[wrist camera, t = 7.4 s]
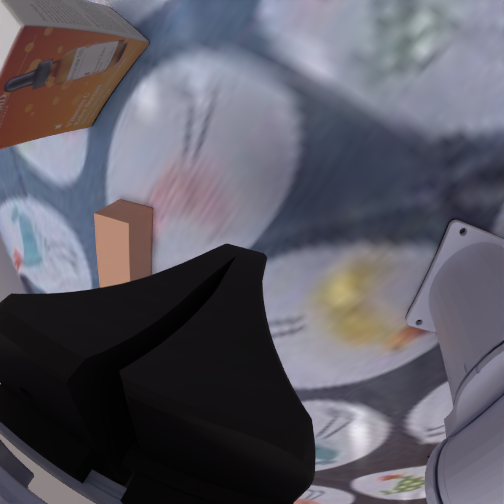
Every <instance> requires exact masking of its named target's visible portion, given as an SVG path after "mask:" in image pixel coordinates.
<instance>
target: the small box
mask: <svg viewBox="0 0 504 504" xmlns="http://www.w3.org/2000/svg"><path fill="white" fill-rule="evenodd" d="M148 45H149V41H148V40H147V39H146V38H145V37H144V36H143V35H141V34H140V33H139V32H138V31H137V30H136V29H135V28H134V27H133V26H131V25H130V24H129V23H128V22H127V21H126V20H124V19H123V18H122V17H121V16H120V15H118V14H117V13H116V12H115V11H114V10H112V9H111V8H110V7H108V6H105V5H101V4H97V3H93V2H89V1H84V0H0V149H3V148H6V147H10V146H13V145H17V144H20V143H24V142H27V141H31V140H35V139H39V138H43V137H47V136H51V135H56V134H60V133H64V132H69V131H74V130H79V129H84V128H88V127H91V125H92V124H93V122H94V120H95V119H96V117H97V115H98V113H99V112H100V110H101V108H102V107H103V105H104V104H105V102H106V101H107V99H108V98H109V96H110V95H111V93H112V92H113V90H114V89H115V88H116V86H117V85H118V83H119V82H120V81H121V79H122V78H123V76H124V75H125V74H126V72H127V71H128V70H129V69H130V67H131V66H132V65H133V63H134V62H135V61H136V59H137V58H138V57H139V56H140V54H141V53H142V52H143V51H144V50H145V49H146V48H147V46H148Z"/></svg>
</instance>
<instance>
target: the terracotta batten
mask: <svg viewBox="0 0 504 504" xmlns="http://www.w3.org/2000/svg"><path fill="white" fill-rule="evenodd" d="M94 216H95V236H96V250H97V262H98V272H99V282H100V288H102V287H107V286H112V285H117V284H122V283H126V282H130V281H133V280H137V279H140V278H144V277H147V276H150V275H151V250H152V217H153V208H150V207H146V206H143V205H139V204H135V203H131V202H128V201H124V200H118V201H116V202H114V203H112V204H110V205H108V206H107V207H105V208H103V209H101V210H99V211H97V212H96V213H94Z"/></svg>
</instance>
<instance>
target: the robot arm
mask: <svg viewBox="0 0 504 504" xmlns="http://www.w3.org/2000/svg"><path fill="white" fill-rule="evenodd" d="M462 228H465V231H464V233H462V234H461V233H460V230H461V229H462ZM266 261H267V257H266V255H265V254H264V253H260V252H257V251H253V250H249V249H245V248H242V247H238V246H234V245H231V244H224V245H222V246H219V247H217V248H215V249H213V250H211V251H209V252H206V253H204V254H202V255H200V256H198V257H195V258H193V259H191V260H189V261H187V262H184V263H182V264H179V265H177V266H174V267H172V268H169V269H166V270H164V271H161V272H159V273H156V274H153V275H150V276H147V277H144V278H140V279H137V280H133V281H130V282H126V283H122V284H117V285H112V286H107V287H102V288H96V289H91V290H84V291H76V292H65V293H51V294H10V295H9V296H7V297H6V298H5V299H4V300H3V301H1V302H0V383H1V384H0V434H2V435H3V436H4V437H5V438H6V439H7V440H8V441H9V442H10V443H12V444H13V445H14V446H15V447H16V448H17V449H19V450H20V451H21V452H22V453H24V454H25V455H26V456H27V457H28V458H30V459H31V460H32V461H33V462H35V463H36V464H38V465H39V466H40V467H41V468H43V469H44V470H46V471H47V472H48V473H49V474H51V475H52V476H54V477H55V478H57V479H58V480H59V481H61V482H62V483H64V484H65V485H67V486H68V487H70V488H72V489H73V490H74V491H76V492H78V493H79V494H81V495H82V496H84V497H86V498H87V499H89V500H91V501H93V502H94V503H96V504H293V503H294V502H295V501H296V500H297V499H298V498H299V497H300V496H301V495H302V494H303V493H304V492H305V491H306V490H307V489H308V488H309V487H310V485H311V484H312V482H313V479H314V474H315V440H314V432H313V424H312V419H311V417H310V415H309V414H308V412H307V411H306V409H305V408H304V406H303V404H302V403H301V401H300V399H299V398H298V396H297V394H296V392H295V391H294V389H293V387H292V385H291V383H290V381H289V379H288V377H287V375H286V373H285V371H284V368H283V366H282V363H281V361H280V359H279V356H278V354H277V351H276V349H275V346H274V343H273V340H272V337H271V334H270V330H269V326H268V322H267V318H266V312H265V306H264V300H263V286H262V280H263V275H264V270H265V266H266ZM417 320H421V321H420V322H416V321H417ZM406 323H407V325H409V326H412V327H416V328H419V329H423V330H427V331H431V332H435V333H436V334H437V337H438V341H439V345H440V348H441V352H442V356H443V360H444V364H445V369H446V373H447V377H448V382H449V386H450V391H451V396H452V401H453V410H452V411H451V413H450V414H449V415H448V416H447V417H446V418H445V419H444V423H445V431H446V439H445V440H443V441H442V442H440V443H439V444H438V445H437V446H436V448H435V449H434V450H433V452H432V453H431V455H430V457H429V460H428V463H427V467H426V472H425V493H426V498H427V503H428V504H504V239H503V238H501V237H498V236H496V235H494V234H491V233H489V232H487V231H484V230H482V229H479V228H477V227H474V226H472V225H470V224H467V223H464V222H462V221H459V220H453V221H451V222H450V224H449V225H448V228H447V230H446V233H445V235H444V238H443V240H442V243H441V245H440V247H439V250H438V252H437V254H436V257H435V259H434V261H433V263H432V265H431V268H430V270H429V272H428V274H427V276H426V278H425V280H424V283H423V285H422V287H421V289H420V291H419V293H418V295H417V297H416V299H415V301H414V303H413V305H412V306H411V308H410V310H409V312H408V314H407V316H406ZM33 478H34V474H33V473H32V472H31V471H30V470H29V469H28V468H27V467H26V466H25V465H24V464H22V463H21V462H20V461H19V460H18V459H17V458H16V457H15V456H14V455H13V454H12V452H10V450H9V449H8V448H7V447H6V446H5V445H4V443H3V442H2V441H1V440H0V504H47V503H46V502H45V501H43V500H42V499H41V498H39V497H38V496H37V495H35V494H34V493H33V492H31V491H30V490H29V489H28V485H29V483H30V482H31V480H32V479H33Z"/></svg>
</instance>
